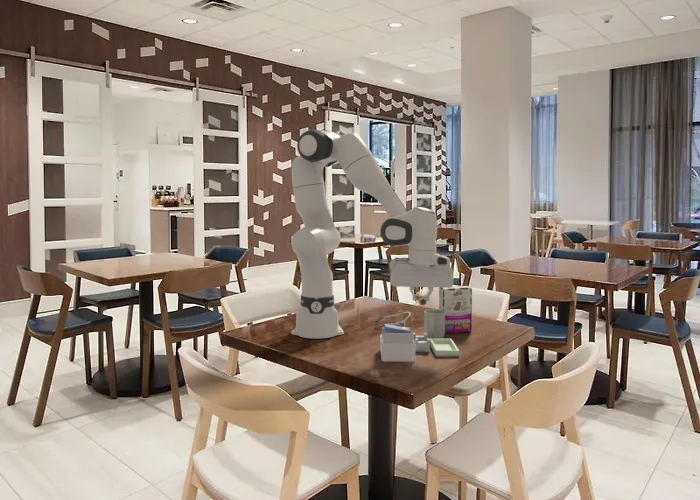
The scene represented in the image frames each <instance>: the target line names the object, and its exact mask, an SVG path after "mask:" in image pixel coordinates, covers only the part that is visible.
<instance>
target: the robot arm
mask: <svg viewBox="0 0 700 500" xmlns="http://www.w3.org/2000/svg"><path fill="white" fill-rule="evenodd" d="M296 146H297V148H296V149H297V152H298V154H299V155H298V156H296V157H295V158H294V159H293V161H292V162H291V184H292V190H293V197H294V198H293V199H294V205H295V209H296V212H297V213H298V215H299V216H300V219H301V220H302V222H303V225H304V227H302V228H300V229H299V230H297V231H296V232H295V233H294V234H293V235H292V237H291V248H292V251H293V252H294V253H295V255H296V257H297V260H298V265H299V270H300V275H301V277H300V278H301V279H300V280H301V294H300V299H299V301H300V307H299V308H298V309H297V311H296V312H295V313H296V314H295V315H296V317H295V320H296V321H295V328H294V329H292V330H291V331H290V334H291V335H293V336H299V337H301V338H304V339H313V340H314V339H316V340H317V339H328V338H334V337H335V336H341V335H345V333H344V330H343V328H342V326H340V324H339V323H340V321H339V311H338V310H337V309H336V308H335V295H334V294H333V293H334V291H333V290H334V289H333V288H334V286H333V284H334V282H333V281H334V280H333V279H334V274H333V271H332V269H331V268H330V264H329V261H328V255H329V254H332V253H333V252H334V251H335V250H336V249H337V248H338V247H339V246H340V244H341V239H342V238H341V233H340V232H339V230H338V229H337V228H336V226H335V223H334V220H333V218H332V215H331V212H330V209H329V207H328V199H327V195H326V189H325V187H326V186H325V181H324V176H323V173H324V172H323V170H324V168H325V167H327V168H329V167H330V166H332V165H334V164H336V163H338V164H339V165H340V167H341V168H342V171H343V172H344V174H345V176H346V177H347V179H348V180H349V182H350V184H352V185H353V187H354V188H355V189H357V190H358V191H361V192H363V193H366V194H367V195H370V196H372V197H373V198H375V200H377V202H378V203H379V204H380V205H381V207H382V209H384V211H385V212H386V215H387V216H388V218H387V219H386V220H385V221H384V222H383V223H382V224H381V226H380V232H379V233H380V237H381V239H382V241H383V242H384V243H385V244H386V245H387V246H391V247H395V248H396V247H402V246H408V257H395V258H393V259H391V260H389V261H390V262H389V270H390V279H389V283H390V285H391V286H392V287H395V288H397V287H399V288H401V287H404V288H405V287H406V288H409V291H410V293H411V294H412V301H415V302H416V301H417V302H418V299H417V298H418V295H417V294H415V288H427V291H428V292H427V294H423V296H424V297H425V299H426V301H427V302H429V301H430V296H431V294H432V293H433V292H434V288H439V287H445V288H451V287H452V286H454V273H453V272H454V271H453V268H452V266H451V265H450V264H451V259H450V257H448V256H445V255H443V254H441V253H437V249H438V248H437V243H436V241H437V237H438V219H437V214H436V213H435V211H433V210H432V209H430V208H426V207H420V206H414V207H412V208H411V209H410V210H408V209H407V208H406V207H405V205H404V203H403V202H402V201H401V199H400V197H399V196H398V195H397V193H396V191H395V190H394V189H393V187H392V186H391V184H390V182H389V181H388V179H387V178H386V176H385V174H384V173H383V171H382V168H381V167H380V165H379V164H378V161H377V160H376V158H375V156H374V154H373V153H372V151H371V149H370V148H369V147H368V145H367V144H366V142H365V141H364V140H363V139H362V138H361V137H360V136H359V135H358V134H357V133H355V132H348V133H344V134H341V133H338V132H335V131H331V130H328V129H327V130H326V129H323V130H322V129H309V130H306V131H304V132H303V133H301V135H300V136H299V137H298V139H297V144H296Z"/></svg>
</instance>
